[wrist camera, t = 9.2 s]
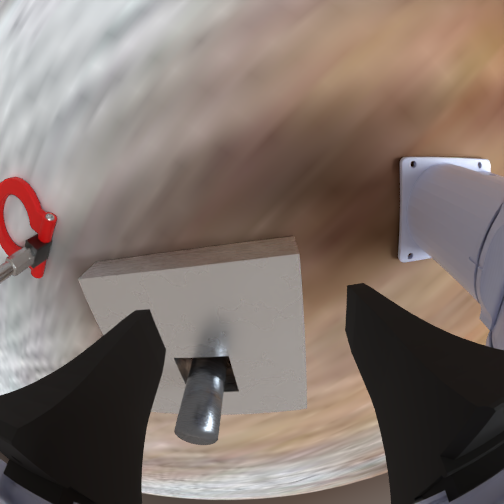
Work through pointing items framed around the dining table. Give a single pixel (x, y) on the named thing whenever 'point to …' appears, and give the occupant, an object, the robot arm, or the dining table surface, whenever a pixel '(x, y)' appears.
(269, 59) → the dining table surface
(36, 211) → the tow hook
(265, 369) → the bore block
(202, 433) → the pin
